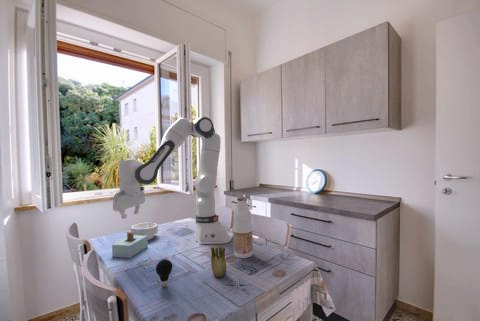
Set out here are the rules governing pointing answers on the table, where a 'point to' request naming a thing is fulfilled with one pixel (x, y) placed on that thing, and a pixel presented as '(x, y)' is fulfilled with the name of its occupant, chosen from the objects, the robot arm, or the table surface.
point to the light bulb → (164, 271)
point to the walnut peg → (130, 236)
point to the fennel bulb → (218, 261)
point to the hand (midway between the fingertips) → (130, 215)
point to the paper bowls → (145, 229)
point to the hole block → (129, 247)
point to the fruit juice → (242, 230)
